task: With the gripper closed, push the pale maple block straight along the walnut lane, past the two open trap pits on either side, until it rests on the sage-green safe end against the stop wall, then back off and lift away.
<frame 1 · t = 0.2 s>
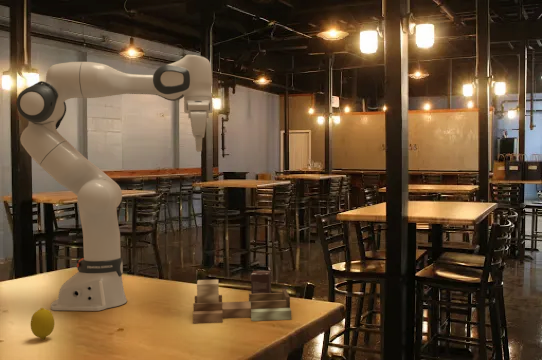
hand: (199, 151, 180), 47 cm above the table, fingers open, 8 cm apart
lemon: (43, 340, 143), on the table
block: (208, 306, 164), point 2 cm above the table, touching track
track: (236, 313, 165), on the table
box: (261, 295, 188), on the table
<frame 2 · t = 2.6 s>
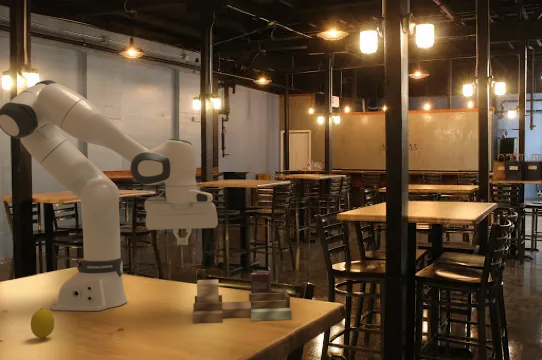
hand: (182, 244, 163), 21 cm above the table, fingers closed
nothing on the table moved.
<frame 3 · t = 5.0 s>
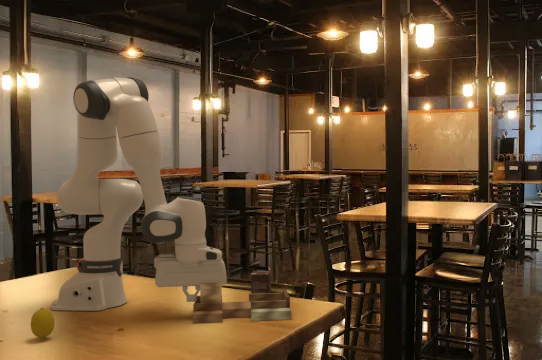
hand: (191, 301, 163), 4 cm above the table, fingers closed
block: (211, 306, 164), point 3 cm above the table
everything else where it was.
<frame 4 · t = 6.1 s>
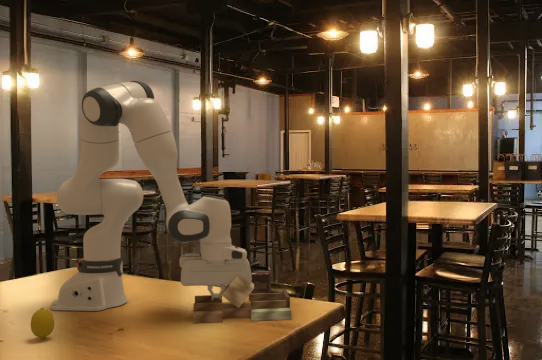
hand: (216, 300, 163), 4 cm above the table, fingers closed
block: (230, 299, 164), point 4 cm above the table, tilted 39°, touching gripper
everything else where it was.
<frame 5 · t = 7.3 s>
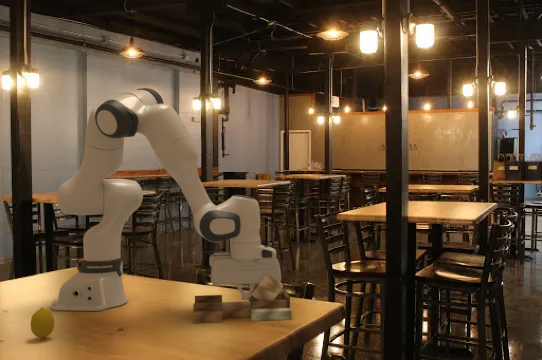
hand: (246, 299, 164), 4 cm above the table, fingers closed
block: (259, 298, 165), point 4 cm above the table, tilted 36°, touching gripper, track
everything else where it was.
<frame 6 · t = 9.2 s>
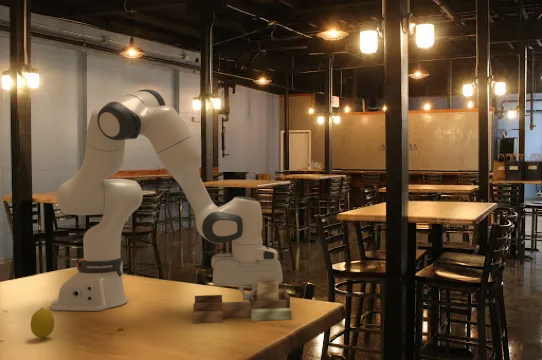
hand: (247, 299, 165), 4 cm above the table, fingers closed
block: (267, 304, 165), point 3 cm above the table, touching gripper, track
everything else where it was.
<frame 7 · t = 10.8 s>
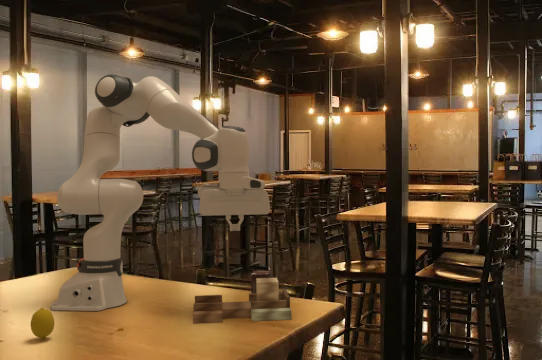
hand: (235, 230, 164), 24 cm above the table, fingers closed
block: (267, 304, 165), point 2 cm above the table, touching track
everything else where it was.
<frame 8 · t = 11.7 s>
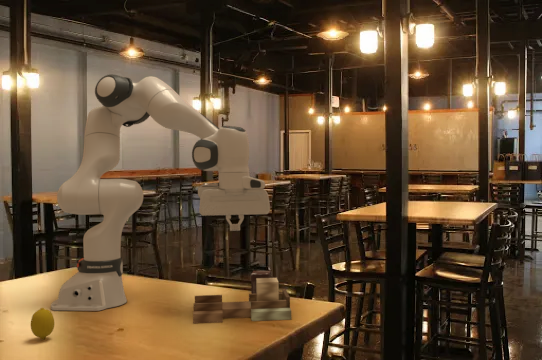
hand: (235, 230, 164), 24 cm above the table, fingers closed
nothing on the table moved.
at the end: block inside the target area on the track (2.2 cm from its centre), point 2.5 cm above the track's base; block tilted 0° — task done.
